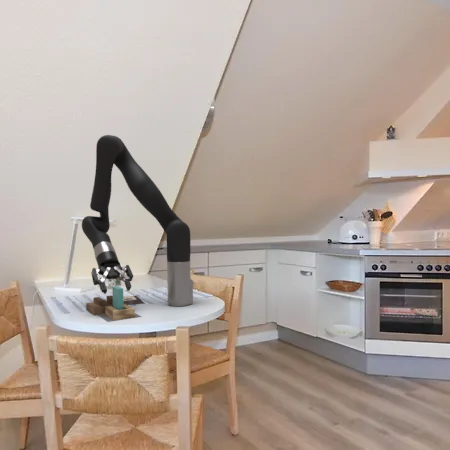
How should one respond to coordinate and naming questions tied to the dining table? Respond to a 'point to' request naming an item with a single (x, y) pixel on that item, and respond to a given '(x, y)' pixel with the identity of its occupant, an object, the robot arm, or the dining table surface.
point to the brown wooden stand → (99, 305)
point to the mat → (115, 320)
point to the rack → (120, 312)
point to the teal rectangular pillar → (118, 298)
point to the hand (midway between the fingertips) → (117, 290)
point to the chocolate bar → (132, 300)
